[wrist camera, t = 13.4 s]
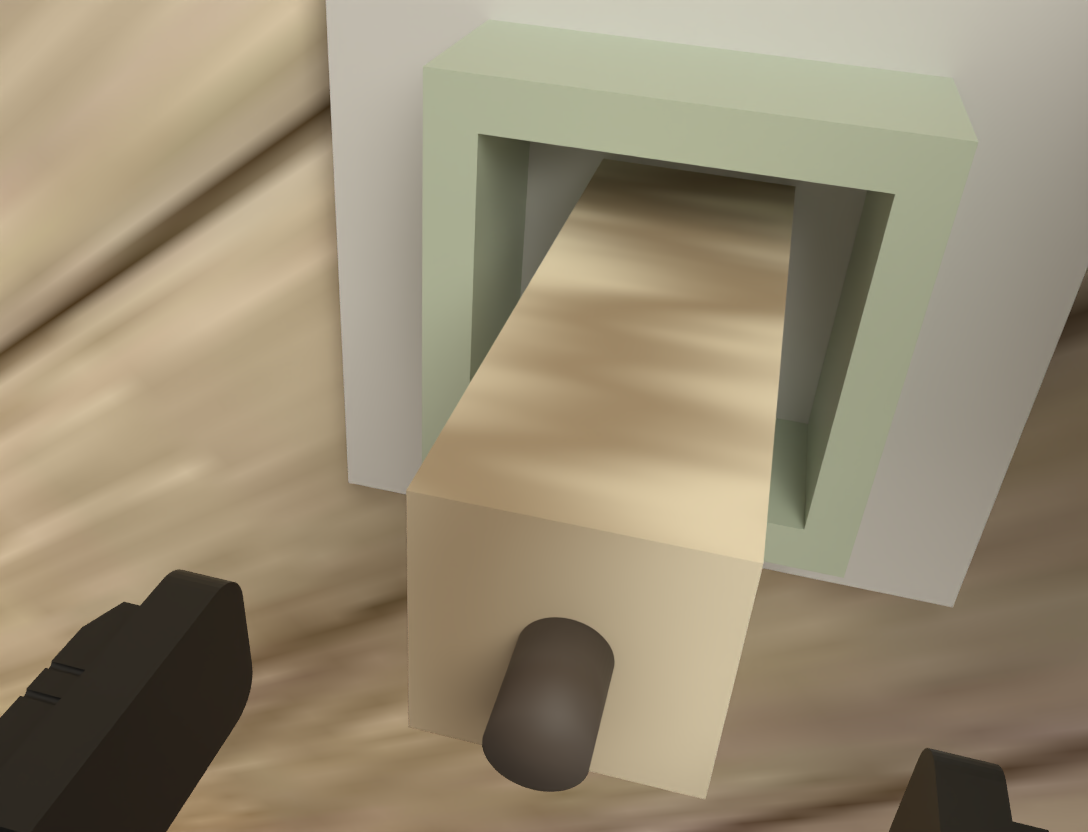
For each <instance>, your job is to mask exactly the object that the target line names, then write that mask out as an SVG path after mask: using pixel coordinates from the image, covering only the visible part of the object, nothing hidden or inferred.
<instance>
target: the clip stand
mask: <svg viewBox="0 0 1088 832" xmlns="http://www.w3.org/2000/svg"><path fill="white" fill-rule="evenodd" d="M326 16H327V38H328V59H329V80H330V101H331V122H332V144H333V165H334V186H335V207H336V228H337V250H338V271H339V292H340V313H341V334H342V356H343V377H344V398H345V419H346V440H347V462H348V483H353V484H358V485H363V486H367V487H372V488H377V489H382V490H387V491H392V492H396V493H401V494H406V490H407V488H408V487H409V485H410V483H411V482H412V480H413V478H414V477H415V475H416V473H417V471H418V470H419V468H420V466H421V465H422V463H423V461H424V460H425V458H426V456H427V455H428V453H429V451H430V450H431V448H432V446H433V445H434V443H435V441H436V439H437V438H438V436H439V434H440V433H441V431H442V429H443V428H444V426H445V424H446V423H447V421H448V419H449V418H450V416H451V414H452V413H453V411H454V409H455V407H456V406H457V404H458V402H459V401H460V399H461V397H462V396H463V394H464V392H465V391H466V389H467V387H468V386H469V384H470V382H471V381H472V379H473V377H474V375H475V374H476V372H477V370H478V369H479V367H480V365H481V364H482V362H483V360H484V359H485V357H486V355H487V354H488V352H489V350H490V349H491V347H492V345H493V343H494V342H495V340H496V338H497V337H498V335H499V333H500V332H501V330H502V328H503V327H504V325H505V323H506V322H507V320H508V318H509V316H510V315H511V313H512V311H513V310H514V308H515V306H516V305H517V303H518V301H519V300H520V298H521V296H522V295H523V293H524V291H525V290H526V288H527V286H528V284H529V283H530V281H531V279H532V278H533V276H534V274H535V273H536V271H537V269H538V268H539V266H540V264H541V263H542V261H543V259H544V258H545V256H546V254H547V252H548V251H549V249H550V247H551V246H552V244H553V242H554V241H555V239H556V237H557V236H558V234H559V232H560V231H561V229H562V227H563V226H564V224H565V222H566V220H567V219H568V217H569V215H570V214H571V212H572V210H573V209H574V207H575V205H576V204H577V202H578V200H579V199H580V197H581V195H582V194H583V192H584V190H585V188H586V187H587V185H588V183H589V182H590V180H591V178H592V177H593V175H594V173H595V172H596V170H597V168H598V167H599V165H600V163H601V162H602V160H603V159H609V160H616V161H623V162H630V163H637V164H644V165H651V166H658V167H665V168H671V169H678V170H685V171H692V172H699V173H706V174H713V175H720V176H727V177H734V178H741V179H748V180H754V181H761V182H768V183H775V184H782V185H789V186H796V187H795V198H794V210H793V222H792V234H791V245H790V257H789V269H788V281H787V292H786V304H785V316H784V328H783V339H782V351H781V363H780V375H779V387H778V398H777V410H776V422H775V434H774V445H773V457H772V469H771V481H770V492H769V504H768V516H767V528H766V539H765V551H764V563H763V567H762V568H764V569H769V570H774V571H779V572H784V573H788V574H793V575H798V576H803V577H808V578H813V579H817V580H822V581H827V582H832V583H837V584H842V585H847V586H851V587H856V588H861V589H866V590H871V591H876V592H880V593H885V594H890V595H895V596H900V597H905V598H909V599H914V600H919V601H924V602H929V603H934V604H938V605H943V606H948V607H953V605H954V603H955V600H956V598H957V595H958V593H959V590H960V588H961V585H962V583H963V580H964V577H965V575H966V572H967V570H968V567H969V565H970V562H971V560H972V557H973V555H974V552H975V550H976V547H977V545H978V542H979V540H980V537H981V535H982V532H983V530H984V527H985V525H986V522H987V520H988V517H989V514H990V512H991V509H992V507H993V504H994V502H995V499H996V497H997V494H998V492H999V489H1000V487H1001V484H1002V482H1003V479H1004V477H1005V474H1006V472H1007V469H1008V467H1009V464H1010V462H1011V459H1012V457H1013V454H1014V451H1015V449H1016V446H1017V444H1018V441H1019V439H1020V436H1021V434H1022V431H1023V429H1024V426H1025V424H1026V421H1027V419H1028V416H1029V414H1030V411H1031V409H1032V406H1033V404H1034V401H1035V399H1036V396H1037V394H1038V391H1039V388H1040V386H1041V383H1042V381H1043V378H1044V376H1045V373H1046V371H1047V368H1048V366H1049V363H1050V361H1051V358H1052V356H1053V353H1054V351H1055V348H1056V346H1057V343H1058V341H1059V338H1060V336H1061V333H1062V331H1063V328H1064V325H1065V323H1066V320H1067V318H1068V315H1069V313H1070V310H1071V308H1072V305H1073V303H1074V300H1075V298H1076V295H1077V293H1078V290H1079V288H1080V285H1081V283H1082V280H1083V278H1084V275H1085V273H1086V270H1087V268H1088V0H326Z"/></svg>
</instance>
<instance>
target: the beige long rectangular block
mask: <svg viewBox="0 0 1088 832" xmlns="http://www.w3.org/2000/svg"><path fill="white" fill-rule="evenodd" d="M795 187H796V186H789V185H782V184H775V183H768V182H761V181H754V180H748V179H741V178H734V177H727V176H720V175H713V174H706V173H699V172H692V171H685V170H678V169H671V168H665V167H658V166H651V165H644V164H637V163H630V162H623V161H616V160H609V159H603V160H602V162H601V163H600V165H599V167H598V168H597V170H596V172H595V173H594V175H593V177H592V178H591V180H590V182H589V183H588V185H587V187H586V188H585V190H584V192H583V194H582V195H581V197H580V199H579V200H578V202H577V204H576V205H575V207H574V209H573V210H572V212H571V214H570V215H569V217H568V219H567V220H566V222H565V224H564V226H563V227H562V229H561V231H560V232H559V234H558V236H557V237H556V239H555V241H554V242H553V244H552V246H551V247H550V249H549V251H548V252H547V254H546V256H545V258H544V259H543V261H542V263H541V264H540V266H539V268H538V269H537V271H536V273H535V274H534V276H533V278H532V279H531V281H530V283H529V284H528V286H527V288H526V290H525V291H524V293H523V295H522V296H521V298H520V300H519V301H518V303H517V305H516V306H515V308H514V310H513V311H512V313H511V315H510V316H509V318H508V320H507V322H506V323H505V325H504V327H503V328H502V330H501V332H500V333H499V335H498V337H497V338H496V340H495V342H494V343H493V345H492V347H491V349H490V350H489V352H488V354H487V355H486V357H485V359H484V360H483V362H482V364H481V365H480V367H479V369H478V370H477V372H476V374H475V375H474V377H473V379H472V381H471V382H470V384H469V386H468V387H467V389H466V391H465V392H464V394H463V396H462V397H461V399H460V401H459V402H458V404H457V406H456V407H455V409H454V411H453V413H452V414H451V416H450V418H449V419H448V421H447V423H446V424H445V426H444V428H443V429H442V431H441V433H440V434H439V436H438V438H437V439H436V441H435V443H434V445H433V446H432V448H431V450H430V451H429V453H428V455H427V456H426V458H425V460H424V461H423V463H422V465H421V466H420V468H419V470H418V471H417V473H416V475H415V477H414V478H413V480H412V482H411V483H410V485H409V487H408V488H407V490H406V519H407V619H408V719H409V727H410V728H414V729H418V730H422V731H427V732H431V733H435V734H439V735H443V736H447V737H451V738H455V739H459V740H463V741H468V742H472V743H476V744H480V745H482V747H483V751H484V754H485V756H486V758H487V760H488V761H489V762H490V764H491V765H492V766H493V767H494V768H495V769H496V770H497V771H498V772H499V773H500V774H501V775H503V776H504V777H506V778H507V779H509V780H510V781H512V782H514V783H516V784H518V785H521V786H523V787H526V788H530V789H533V790H538V791H548V792H554V791H563V790H567V789H570V788H573V787H575V786H577V785H578V784H580V783H581V782H582V781H583V780H584V779H585V778H586V776H587V774H588V772H589V771H591V772H595V773H599V774H603V775H607V776H611V777H615V778H619V779H623V780H627V781H632V782H636V783H640V784H644V785H648V786H652V787H656V788H660V789H664V790H668V791H673V792H677V793H681V794H685V795H689V796H693V797H697V798H701V799H706V795H707V791H708V787H709V783H710V779H711V775H712V771H713V767H714V762H715V758H716V754H717V750H718V746H719V742H720V738H721V734H722V730H723V726H724V722H725V718H726V714H727V710H728V706H729V702H730V697H731V693H732V689H733V685H734V681H735V677H736V673H737V669H738V665H739V661H740V657H741V653H742V649H743V645H744V641H745V636H746V632H747V628H748V624H749V620H750V616H751V612H752V608H753V604H754V600H755V596H756V592H757V588H758V584H759V580H760V576H761V571H762V567H763V563H764V551H765V539H766V528H767V516H768V504H769V492H770V481H771V469H772V457H773V445H774V434H775V422H776V410H777V398H778V387H779V375H780V363H781V351H782V339H783V328H784V316H785V304H786V292H787V281H788V269H789V257H790V245H791V234H792V222H793V210H794V198H795Z"/></svg>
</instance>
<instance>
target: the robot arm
mask: <svg viewBox="0 0 1088 832" xmlns="http://www.w3.org/2000/svg"><path fill="white" fill-rule="evenodd" d="M252 672H253V671H252V661H251V654H250V646H249V639H248V631H247V624H246V616H245V609H244V601H243V594H242V590H241V588H240V586H239V585H238V584H237V583H235V582H231V581H227V580H223V579H219V578H214V577H210V576H206V575H202V574H197V573H193V572H189V571H185V570H175V571H172V572H171V573H169V574H168V575H167V576H166V577H165V578H164V579H163V580H162V581H161V582H160V583H159V585H158V586H157V587H156V588H155V589H154V590H153V591H152V593H151V594H150V595H149V596H148V597H147V598H146V600H145V601H144V602H143V603H142V604H141V605H140V606H139V605H135V604H131V603H127V602H123V603H121V604H120V605H118V606H116V607H115V608H113V609H111V610H110V611H108V612H106V613H105V614H103V615H102V616H100V617H98V618H97V619H95V620H93V621H92V622H90V623H89V624H87V625H85V626H84V627H82V628H81V629H80V630H79V631H78V632H77V634H76V635H75V636H74V637H73V638H72V639H71V640H70V641H69V642H68V644H67V645H66V646H65V647H64V648H63V649H62V650H61V651H60V652H59V653H58V655H57V656H56V657H55V658H54V659H53V660H52V663H51V666H50V668H49V669H48V668H45V669H44V670H43V671H42V672H41V673H40V674H39V676H38V677H37V678H36V679H35V680H34V681H33V682H32V683H31V684H30V686H29V687H28V688H27V691H26V694H25V695H24V696H23V697H22V696H20V697H19V698H18V699H17V700H16V701H15V702H14V703H13V704H12V705H11V707H10V708H9V709H8V710H7V711H6V712H5V713H4V714H3V715H2V717H1V718H0V832H166V831H167V830H168V828H169V827H170V825H171V824H172V822H173V820H174V819H175V817H176V816H177V814H178V813H179V811H180V810H181V808H182V807H183V805H184V803H185V802H186V800H187V799H188V797H189V796H190V794H191V793H192V791H193V790H194V788H195V787H196V785H197V783H198V782H199V780H200V779H201V777H202V776H203V774H204V773H205V771H206V770H207V768H208V766H209V765H210V763H211V762H212V760H213V759H214V757H215V756H216V754H217V753H218V751H219V750H220V748H221V746H222V745H223V743H224V742H225V740H226V739H227V737H228V736H229V734H230V733H231V731H232V729H233V728H234V726H235V725H236V723H237V722H238V720H239V718H240V716H241V714H242V712H243V710H244V708H245V705H246V703H247V700H248V696H249V693H250V689H251V684H252ZM889 832H1049V831H1048V830H1045V829H1041V828H1037V827H1033V826H1029V825H1024V824H1020V823H1016V822H1012V816H1011V810H1010V803H1009V797H1008V791H1007V785H1006V779H1005V775H1004V772H1003V770H1002V768H1001V767H1000V766H999V765H997V764H993V763H989V762H985V761H981V760H976V759H972V758H968V757H964V756H959V755H955V754H951V753H947V752H942V751H938V750H934V749H930V748H926V749H924V750H923V752H922V753H921V755H920V757H919V759H918V761H917V764H916V766H915V769H914V771H913V774H912V776H911V779H910V781H909V784H908V786H907V788H906V791H905V793H904V796H903V798H902V801H901V803H900V806H899V808H898V810H897V813H896V815H895V818H894V820H893V823H892V825H891V828H890V830H889Z"/></svg>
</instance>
